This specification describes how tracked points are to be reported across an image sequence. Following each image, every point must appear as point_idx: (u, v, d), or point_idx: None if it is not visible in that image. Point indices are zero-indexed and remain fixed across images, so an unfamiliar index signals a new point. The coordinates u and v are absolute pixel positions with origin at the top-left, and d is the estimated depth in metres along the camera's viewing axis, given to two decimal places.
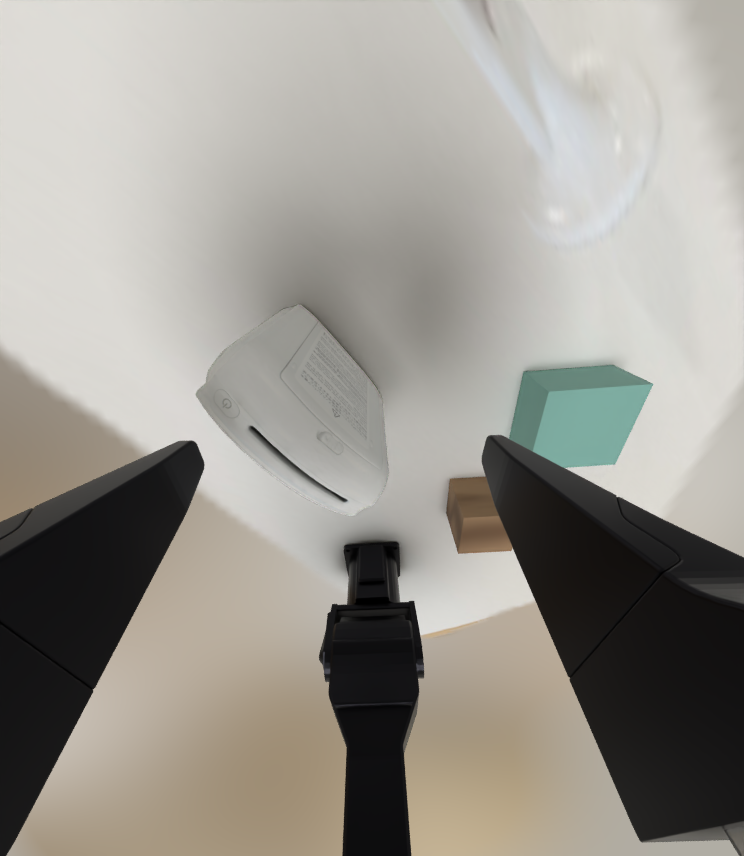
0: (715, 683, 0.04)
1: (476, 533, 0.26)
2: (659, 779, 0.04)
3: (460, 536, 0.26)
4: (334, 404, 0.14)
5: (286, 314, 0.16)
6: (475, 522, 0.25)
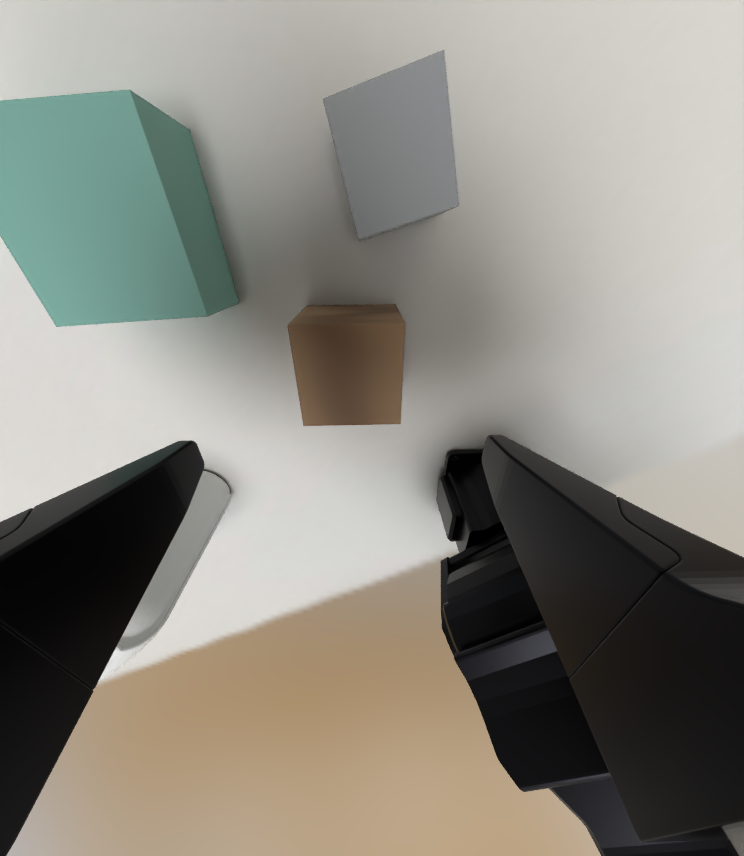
0: (715, 683, 0.04)
1: (344, 401, 0.14)
2: (659, 779, 0.04)
3: None
4: None
5: None
6: (314, 406, 0.14)
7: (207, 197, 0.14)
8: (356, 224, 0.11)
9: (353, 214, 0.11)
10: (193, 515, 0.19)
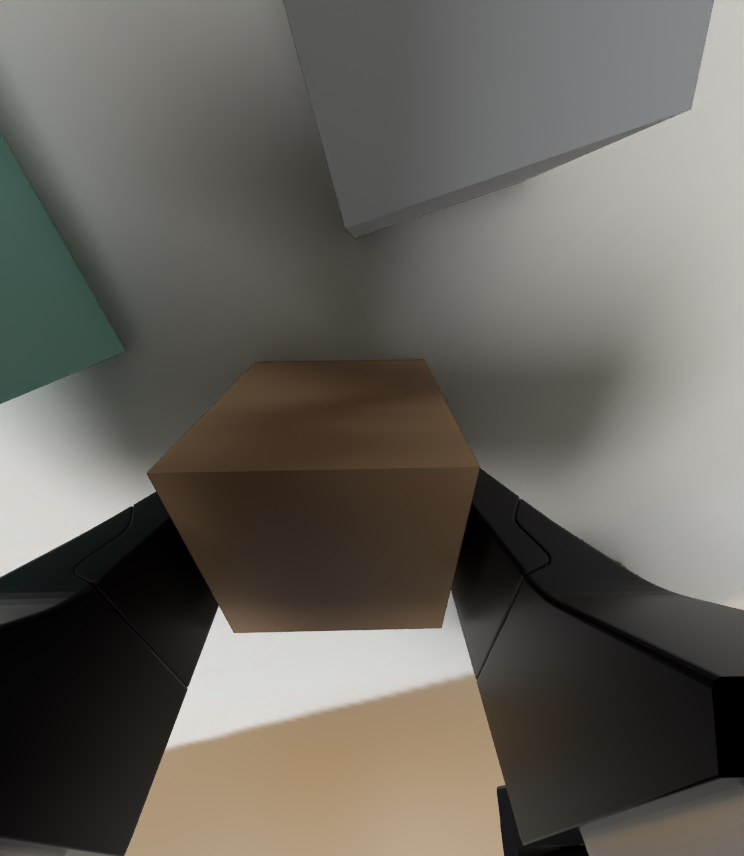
0: (558, 686, 0.04)
1: (319, 601, 0.06)
2: (531, 783, 0.04)
3: None
4: None
5: None
6: (252, 608, 0.06)
7: None
8: (337, 179, 0.03)
9: (326, 142, 0.03)
10: None
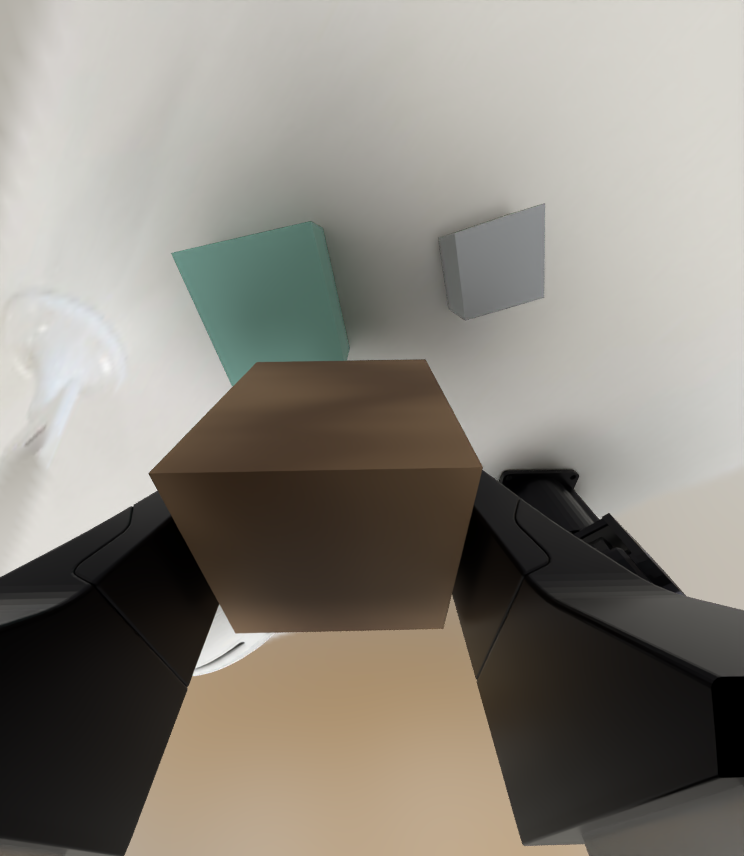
0: (559, 686, 0.04)
1: (321, 601, 0.06)
2: (530, 783, 0.04)
3: None
4: None
5: None
6: (253, 609, 0.06)
7: (332, 273, 0.18)
8: (465, 310, 0.15)
9: (464, 304, 0.15)
10: None
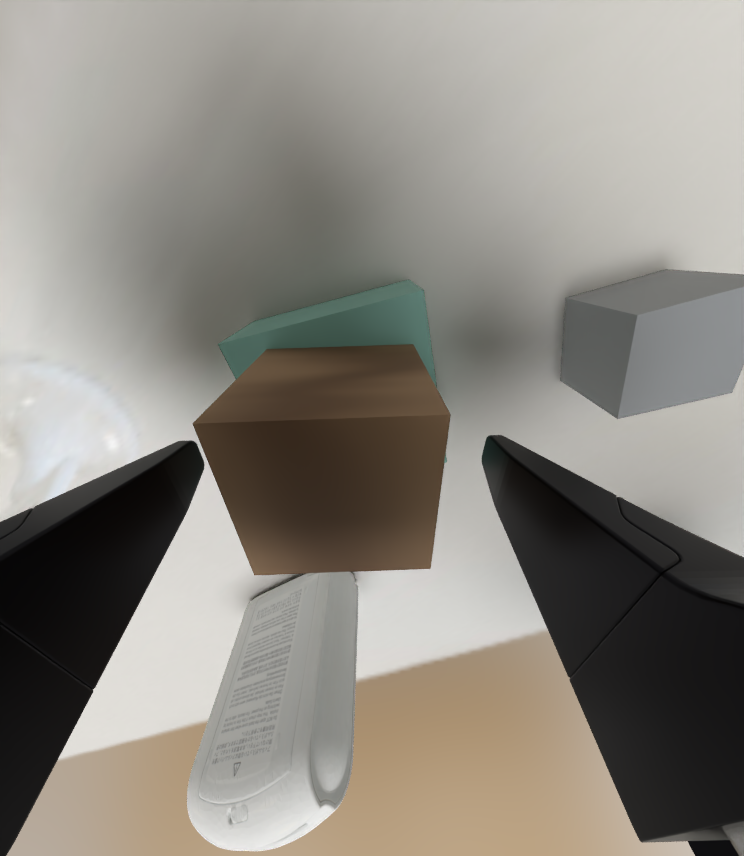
0: (715, 682, 0.04)
1: (327, 541, 0.08)
2: (659, 779, 0.04)
3: None
4: (239, 748, 0.15)
5: (229, 658, 0.21)
6: (270, 550, 0.08)
7: None
8: (621, 407, 0.11)
9: (622, 400, 0.11)
10: (345, 625, 0.19)
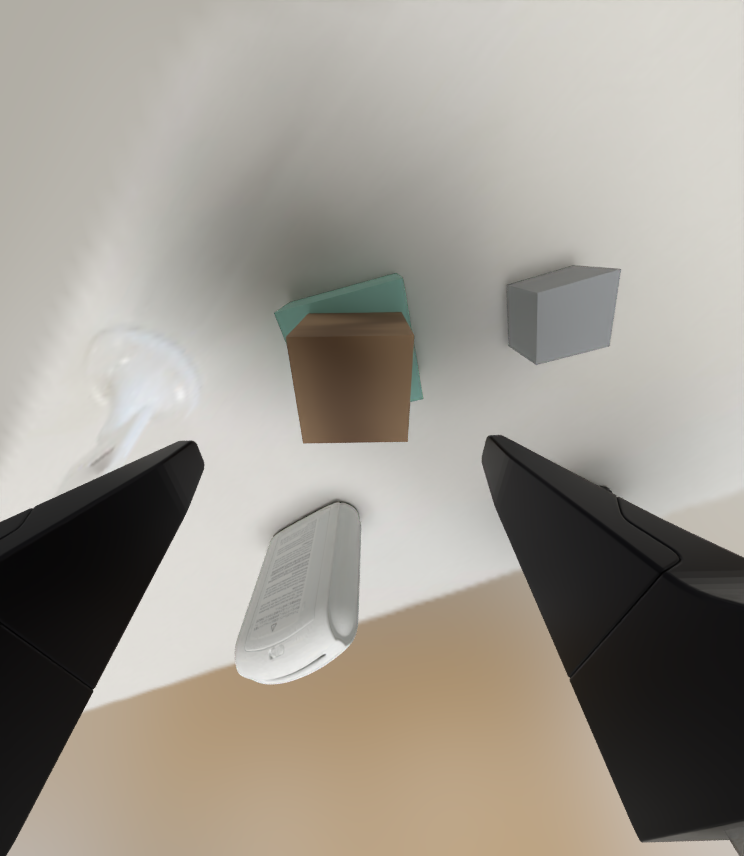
0: (715, 683, 0.04)
1: (347, 418, 0.13)
2: (659, 780, 0.04)
3: None
4: (274, 617, 0.21)
5: (259, 574, 0.27)
6: (314, 423, 0.13)
7: None
8: (537, 356, 0.17)
9: (537, 351, 0.17)
10: (351, 541, 0.25)
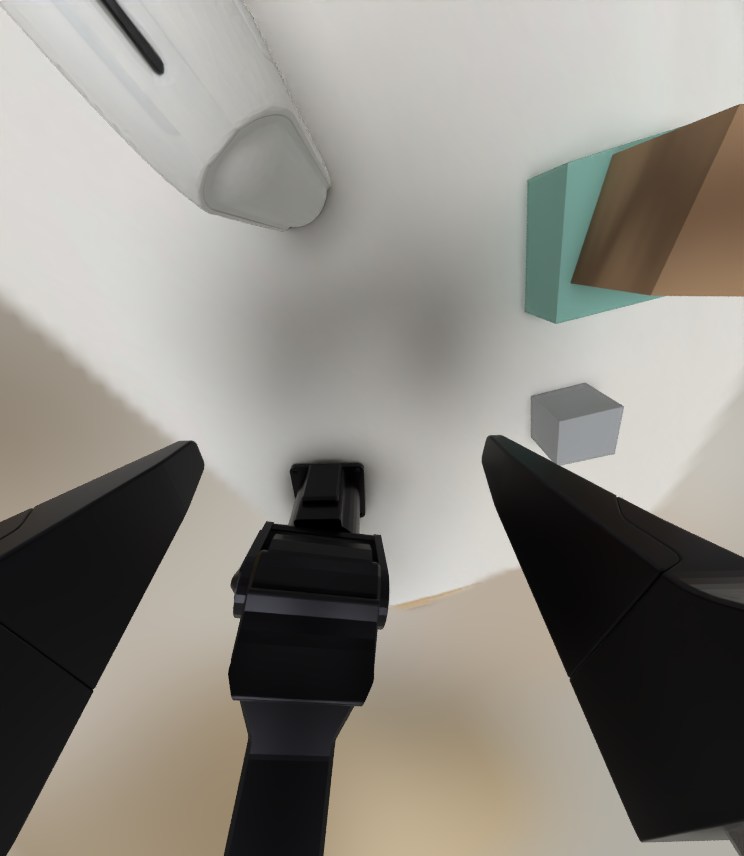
0: (715, 682, 0.04)
1: (734, 202, 0.09)
2: (659, 779, 0.04)
3: (683, 218, 0.10)
4: None
5: None
6: None
7: None
8: (566, 420, 0.19)
9: (572, 419, 0.19)
10: (304, 207, 0.13)
